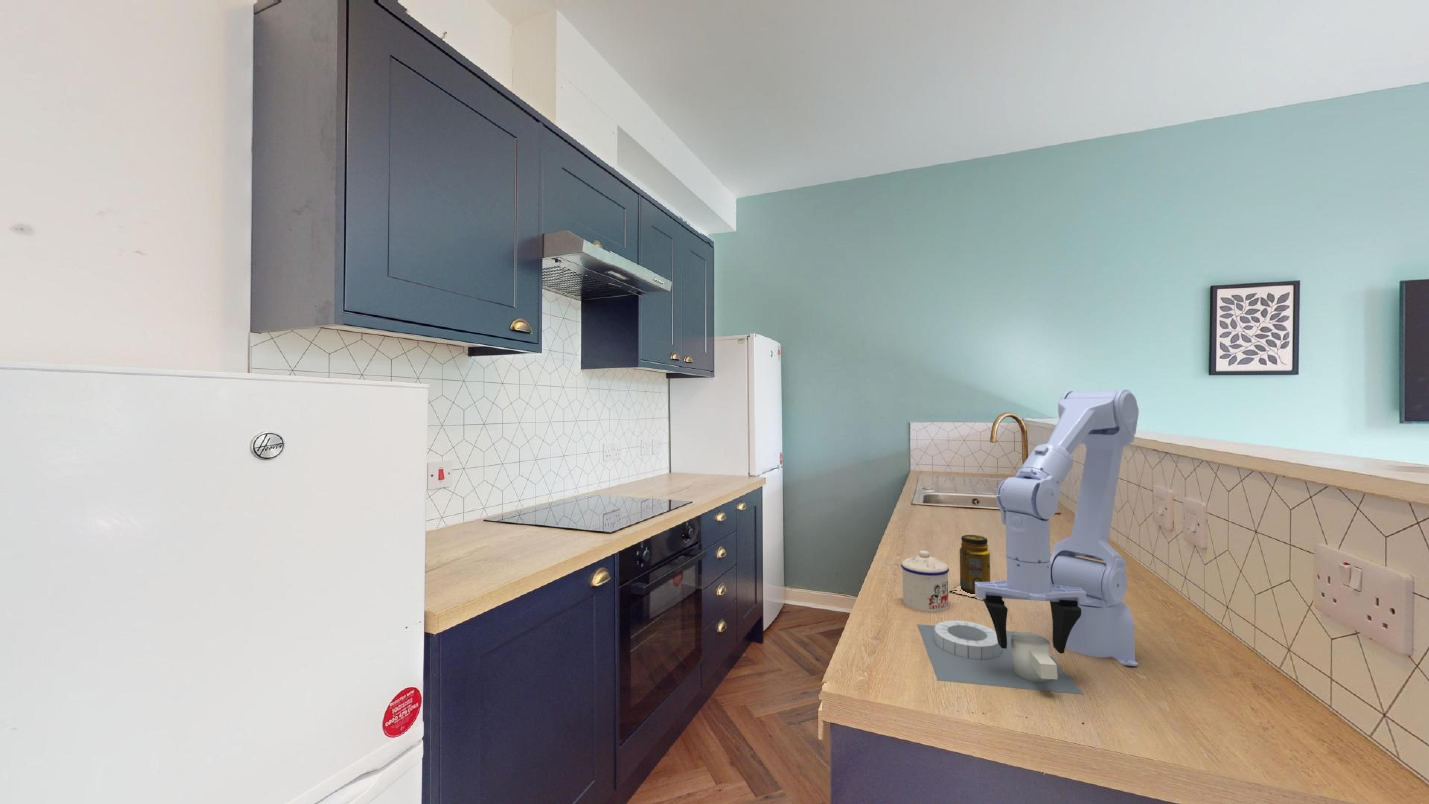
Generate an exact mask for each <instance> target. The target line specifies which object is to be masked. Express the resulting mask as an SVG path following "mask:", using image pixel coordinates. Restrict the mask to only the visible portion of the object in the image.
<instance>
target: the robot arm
mask: <svg viewBox="0 0 1429 804" xmlns="http://www.w3.org/2000/svg"><path fill="white" fill-rule="evenodd" d="M1139 411H1140V410H1139V406H1138V403H1137V399H1136V397H1135V395H1134V394H1133V393H1132V391H1130V390H1129V389H1127V388H1126V389H1125V388H1123V389H1119V390H1095V391H1094V390H1092V391H1089V390H1087V391H1072V390H1068V391H1066V392H1064V393H1063V394H1062V396H1061V397H1060V399H1059V401H1058V405H1057V412H1058V418H1059V419H1058V421H1057V423H1056V425H1055V427H1054V428H1053V431H1052V433H1051V434H1050V436H1049V439H1048V440H1047V443H1043V444H1039V445H1037V446H1035V447H1034V448H1033V450H1031V453H1030V454H1029V455H1028V457H1027V458H1026V460H1025V461H1024V463H1023V464H1022V466H1021V467H1020V469H1019V470H1018V471H1017V473H1016V474H1015V476H1010V477H1007V478H1006V479H1003V480H1001V483H1000V484H999V486H998V488H997V494H996V495H995V502H996V506H997V509H998V510H999V511H1000V518H1001V520H1000V521H1001V522H1002V524H1003V525H1005V552H1006V553H1005V558H1006V561H1005V562H1006V580H999V581H998V580H997V581H996V580H995V581H990V582H975V594H976V596H977V597H978V598H980V599H983V600H982V601H983V602H984V605H985V607H986V609H987V611H988V614H989V616H990V619H991V621H992V624H993V628H994V630H995V631H996V635H997V641H998V644H999V645H1000V647H1001V648H1004V649H1007V634H1006V631H1007V621H1008V620H1007V619H1008V612H1009V608H1008V607H1007V606H1006V605H1005V601H1004V600H1003V599H1005V600H1006V599H1009V600H1010V599H1011V600H1019V601H1020V600H1021V601H1022V600H1023V601H1024V600H1025V601H1037V602H1049V605H1050V611H1051V612H1050V613H1051V617H1052V618H1051V619H1052V620H1051V621H1052V645H1053V648H1054V649H1055V650H1056V652H1057V653H1058V654H1065V651H1066V649H1067V650H1069V651H1071V652H1074V653H1075V654H1076V653H1077V654H1079V655H1083V656H1087V657H1093V658H1114V659H1115V660H1117V661H1118V662H1119V664H1121V665H1123V666H1129V667H1130V666H1131V667H1132V666H1133V667H1138V666H1139V663H1138V662H1137V661H1136V650H1135V649H1136V648H1135V647H1136V646H1135V645H1136V643H1135V639H1136V638H1135V623H1134V618H1133V614H1132V612H1131V609H1130V608H1129V606H1128V605H1127V604H1126V603H1125V602H1123V600H1124V599H1125V595H1126V594H1127V587H1128V580H1127V579H1128V578H1127V562H1126V559H1125V558H1124V557H1123V556H1122V555H1121V554H1120V553H1119V552H1118V551H1117V550H1116V549H1115V548H1114V547H1112V546H1111V545H1110V544H1109V539H1110V538H1109V537H1110V531H1111V525H1112V519H1113V514H1114V508H1115V500H1116V495H1117V494H1116V493H1117V488H1118V487H1117V486H1118V481H1119V477H1120V476H1119V474H1120V471H1121V469H1120V468H1121V464H1122V456H1123V450H1124V447H1126V446H1127V445H1130V444H1132V443H1134V441H1135V436H1136V433H1137V426H1138V420H1139V413H1140V412H1139ZM1080 444H1083V445H1084V446H1085V449H1086V451H1085V457H1084V463H1083V468H1082V475H1081V479H1080V487H1079V491H1078V492H1079V493H1078V498H1077V503H1076V508H1075V514H1074V521H1073V527H1072V533H1071V535H1070V536H1068V537H1066V538H1064V539H1061V540H1059V541H1058V542H1056V543H1054V546H1053V549H1052V552H1051V539H1050V538H1051V537H1050V535H1051V532H1050V529H1051V528H1050V519H1051V518H1052V517H1054V515H1055V514H1056V512H1057V511H1058V505H1059V498H1060V496H1061V492H1062V491H1061V488H1060V487H1061V486H1062V484H1063V482H1064V481H1065V479H1066V478H1067V476H1068V475H1069V473H1070V472H1071V470H1072V468H1073V466H1074V461H1073V458H1072V456H1071V455H1072V453H1074V451H1075V450H1076V449H1077V448H1078V446H1079V445H1080ZM1079 556H1080V557H1079ZM1084 557H1085V558H1084ZM1087 558H1089V559H1087ZM1098 560H1099V561H1098ZM1102 561H1103V562H1102ZM980 599H979V600H980Z"/></svg>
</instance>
